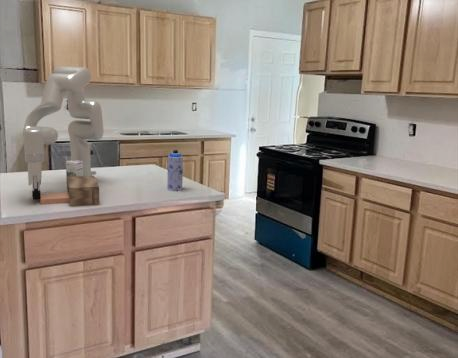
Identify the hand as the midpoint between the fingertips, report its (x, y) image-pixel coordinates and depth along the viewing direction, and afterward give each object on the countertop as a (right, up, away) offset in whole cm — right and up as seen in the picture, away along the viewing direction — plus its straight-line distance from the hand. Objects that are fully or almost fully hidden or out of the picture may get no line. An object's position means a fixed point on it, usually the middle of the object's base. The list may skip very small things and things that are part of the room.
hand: (36, 199), depth 193 cm
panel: (+8, -1, +3) cm, 9 cm away
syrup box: (+9, +3, +21) cm, 23 cm away
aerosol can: (+56, +4, +32) cm, 65 cm away
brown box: (+18, 0, +7) cm, 19 cm away
